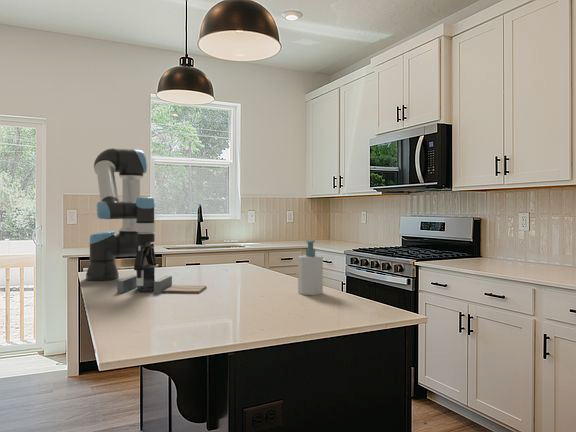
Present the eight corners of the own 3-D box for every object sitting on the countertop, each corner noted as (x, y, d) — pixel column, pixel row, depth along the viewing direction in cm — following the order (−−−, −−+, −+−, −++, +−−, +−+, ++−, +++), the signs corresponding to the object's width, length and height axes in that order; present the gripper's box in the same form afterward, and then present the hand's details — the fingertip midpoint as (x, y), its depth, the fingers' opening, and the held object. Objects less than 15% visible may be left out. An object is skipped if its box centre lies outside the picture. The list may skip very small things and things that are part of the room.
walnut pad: (173, 287, 205) (173, 285, 205) (206, 288, 204) (206, 285, 204) (163, 293, 192) (163, 290, 192) (198, 293, 191) (198, 291, 191)
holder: (132, 286, 208) (132, 275, 208) (171, 286, 207) (171, 275, 207) (117, 293, 192) (117, 281, 192) (159, 293, 191) (159, 281, 191)
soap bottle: (295, 294, 190) (296, 241, 189) (300, 290, 199) (300, 239, 198) (320, 295, 187) (320, 241, 187) (324, 291, 196) (324, 239, 196)
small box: (136, 288, 203) (136, 264, 203) (151, 287, 206) (151, 263, 206) (139, 292, 193) (139, 267, 193) (155, 291, 196) (155, 266, 196)
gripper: (147, 231, 211) (147, 278, 212) (125, 234, 187) (125, 288, 188) (163, 231, 211) (163, 279, 211) (143, 234, 187) (143, 288, 187)
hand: (145, 283), depth 199 cm, fingers closed on small box, 12 cm apart
